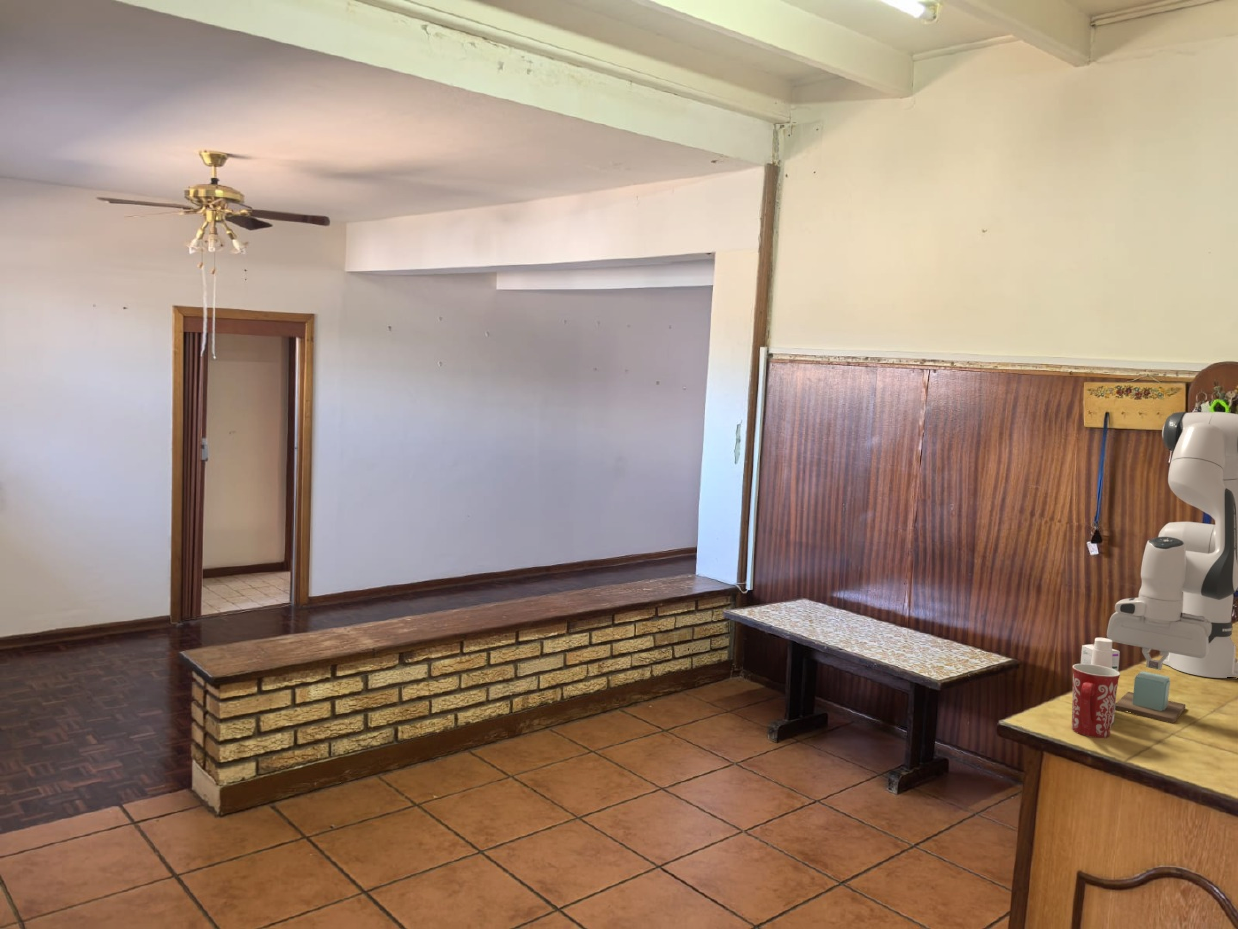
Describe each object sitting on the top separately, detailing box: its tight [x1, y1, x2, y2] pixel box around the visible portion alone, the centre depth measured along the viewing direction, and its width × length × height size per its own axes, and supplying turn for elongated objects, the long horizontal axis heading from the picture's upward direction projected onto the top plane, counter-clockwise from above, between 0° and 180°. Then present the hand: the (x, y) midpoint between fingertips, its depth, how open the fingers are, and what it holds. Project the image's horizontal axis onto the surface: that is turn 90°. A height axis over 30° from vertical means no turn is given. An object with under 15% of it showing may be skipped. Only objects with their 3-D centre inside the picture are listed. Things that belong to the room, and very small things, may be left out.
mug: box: [1071, 663, 1121, 739], centre depth 200 cm, size 13×9×14 cm
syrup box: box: [1080, 643, 1121, 704], centre depth 216 cm, size 6×6×14 cm
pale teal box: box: [1132, 670, 1171, 711], centre depth 219 cm, size 6×6×7 cm
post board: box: [1115, 691, 1186, 724], centre depth 219 cm, size 14×12×7 cm
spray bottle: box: [1091, 637, 1118, 725], centre depth 209 cm, size 7×7×18 cm
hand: (1153, 668), depth 219 cm, fingers closed
